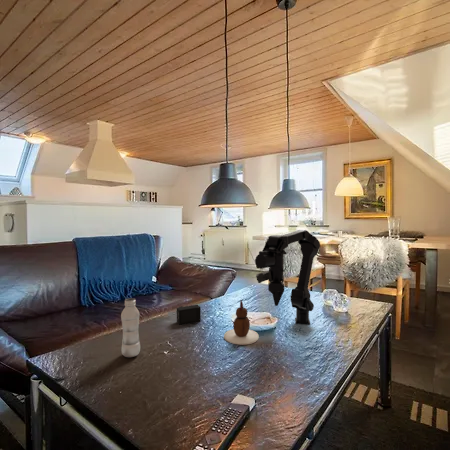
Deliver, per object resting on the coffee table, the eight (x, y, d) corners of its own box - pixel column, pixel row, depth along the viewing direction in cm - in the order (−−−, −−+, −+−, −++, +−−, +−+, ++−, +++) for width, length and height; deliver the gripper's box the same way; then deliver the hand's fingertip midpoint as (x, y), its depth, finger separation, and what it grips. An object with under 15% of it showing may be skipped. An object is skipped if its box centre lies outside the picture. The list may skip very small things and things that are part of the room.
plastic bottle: (123, 361, 101) (122, 303, 100) (120, 353, 107) (119, 298, 106) (142, 357, 104) (141, 301, 103) (138, 349, 110) (137, 296, 109)
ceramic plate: (227, 329, 129) (227, 327, 129) (259, 331, 126) (259, 329, 126) (221, 343, 115) (221, 341, 115) (257, 346, 113) (257, 344, 113)
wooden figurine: (243, 339, 116) (243, 302, 116) (231, 336, 120) (231, 299, 119) (251, 334, 122) (252, 298, 121) (240, 330, 125) (240, 295, 125)
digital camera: (196, 317, 143) (196, 303, 143) (200, 321, 138) (200, 306, 138) (175, 321, 139) (175, 306, 139) (179, 325, 134) (179, 310, 134)
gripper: (258, 261, 135) (258, 295, 135) (255, 269, 116) (255, 308, 117) (283, 262, 133) (283, 296, 133) (284, 270, 114) (284, 309, 115)
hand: (276, 302), depth 125 cm, fingers open, 9 cm apart
